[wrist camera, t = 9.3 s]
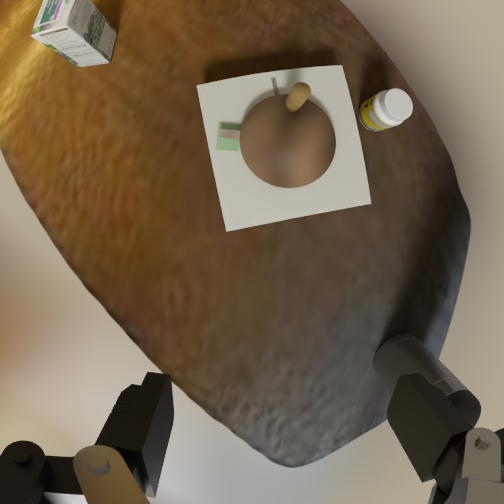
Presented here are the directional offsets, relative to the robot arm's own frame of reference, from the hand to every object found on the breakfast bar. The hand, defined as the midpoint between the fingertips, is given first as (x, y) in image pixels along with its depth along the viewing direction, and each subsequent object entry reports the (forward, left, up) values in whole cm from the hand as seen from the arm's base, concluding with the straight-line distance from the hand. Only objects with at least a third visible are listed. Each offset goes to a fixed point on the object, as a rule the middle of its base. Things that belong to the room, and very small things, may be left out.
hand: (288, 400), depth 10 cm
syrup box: (+33, +17, -33) cm, 50 cm away
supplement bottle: (+14, -20, -33) cm, 41 cm away
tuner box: (+11, -6, -33) cm, 35 cm away
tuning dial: (+11, -5, -28) cm, 30 cm away
